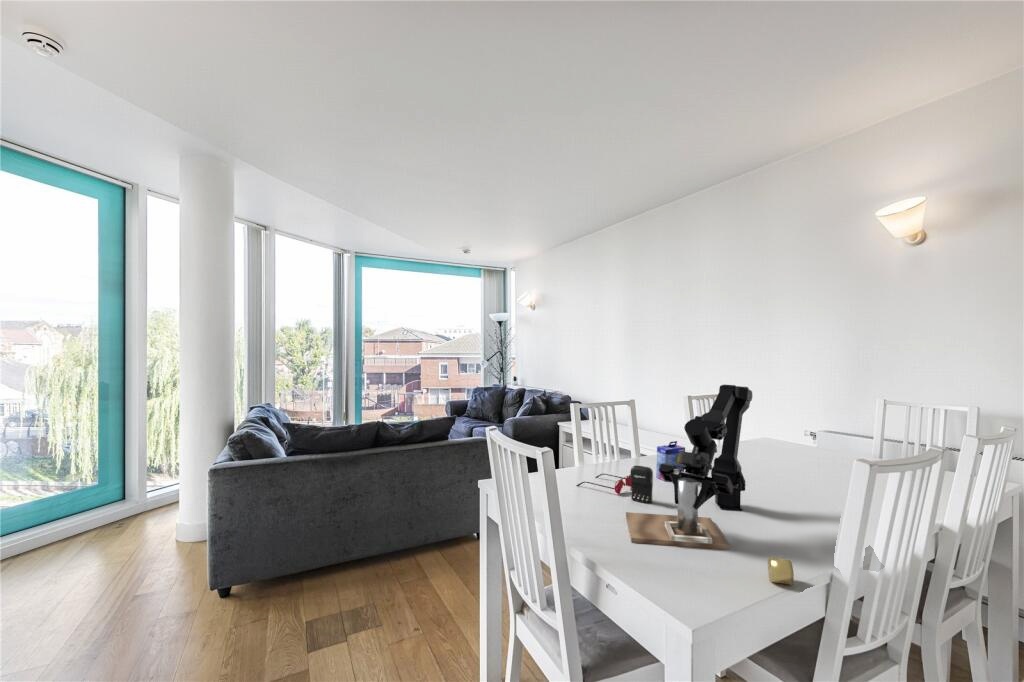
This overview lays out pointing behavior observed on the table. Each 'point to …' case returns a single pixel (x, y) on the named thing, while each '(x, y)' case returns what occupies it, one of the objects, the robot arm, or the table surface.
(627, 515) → the board
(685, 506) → the grey cylinder
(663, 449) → the ink cartridge box
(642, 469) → the battery charger
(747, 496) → the table surface
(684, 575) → the table surface
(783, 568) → the shiny gold nugget
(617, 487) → the glasses
